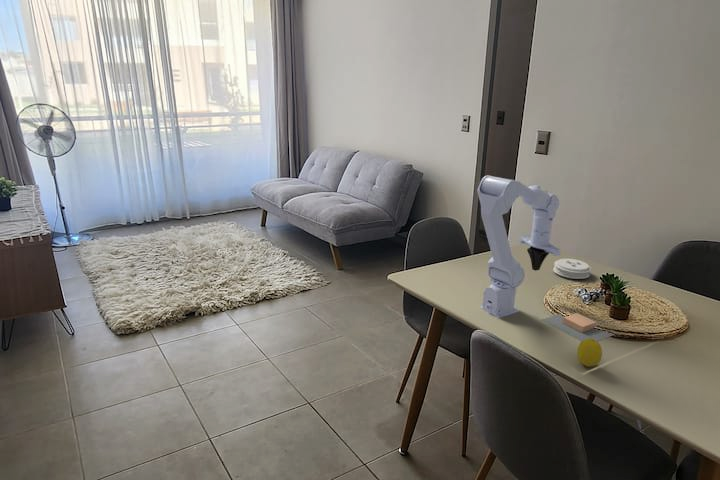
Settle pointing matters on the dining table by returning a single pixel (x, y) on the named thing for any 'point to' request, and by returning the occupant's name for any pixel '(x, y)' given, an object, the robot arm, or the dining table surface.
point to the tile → (579, 322)
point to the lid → (572, 268)
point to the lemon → (589, 352)
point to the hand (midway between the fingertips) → (535, 269)
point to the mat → (592, 333)
